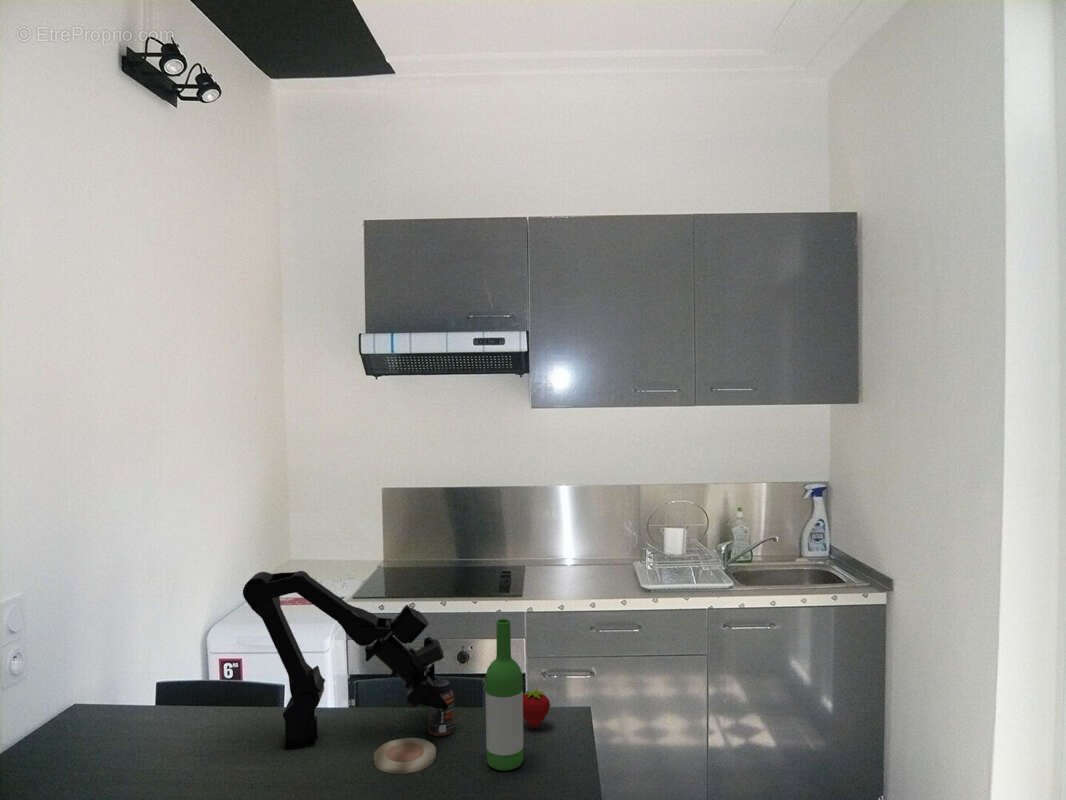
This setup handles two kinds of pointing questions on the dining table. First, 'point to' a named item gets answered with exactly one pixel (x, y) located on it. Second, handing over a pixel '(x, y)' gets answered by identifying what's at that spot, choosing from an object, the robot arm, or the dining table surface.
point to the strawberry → (535, 707)
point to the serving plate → (404, 755)
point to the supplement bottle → (442, 711)
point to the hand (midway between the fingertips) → (446, 702)
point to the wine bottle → (504, 705)
